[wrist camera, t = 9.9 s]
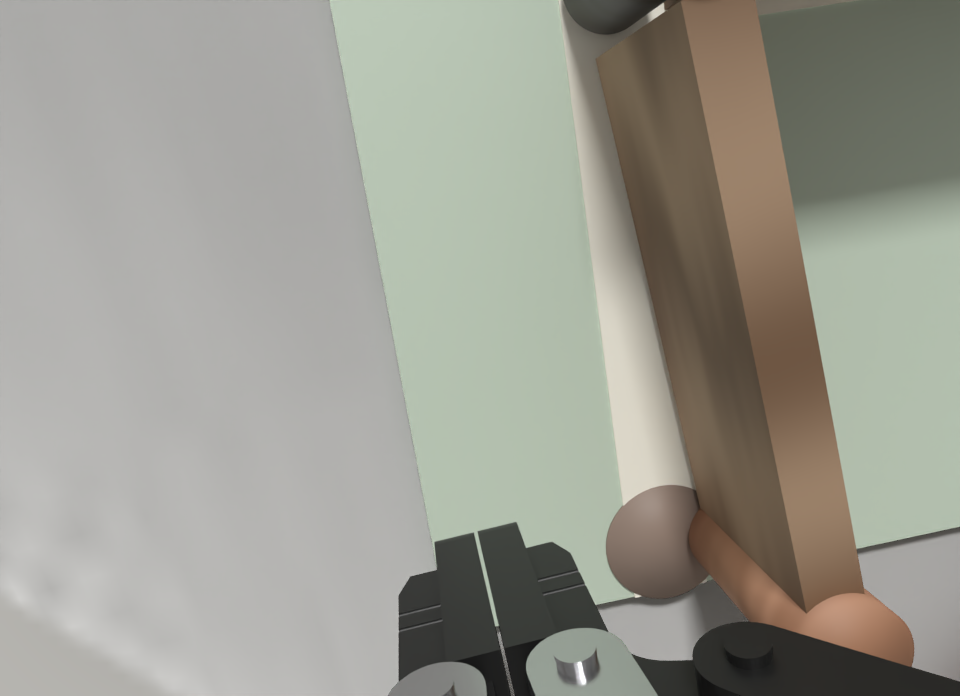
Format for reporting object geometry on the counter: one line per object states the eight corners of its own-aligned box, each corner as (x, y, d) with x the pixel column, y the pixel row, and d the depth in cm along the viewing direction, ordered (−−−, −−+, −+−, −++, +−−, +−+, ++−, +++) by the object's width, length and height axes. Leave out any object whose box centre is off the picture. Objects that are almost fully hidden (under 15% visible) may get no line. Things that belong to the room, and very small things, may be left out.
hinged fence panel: (546, -49, 16) (625, -174, 11) (643, -75, 16) (768, -211, 11) (698, 582, 20) (815, 727, 14) (777, 556, 20) (922, 690, 14)
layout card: (1273, -383, 17) (1298, -399, 17) (1223, 468, 22) (1241, 473, 21) (278, -274, 15) (274, -289, 15) (449, 634, 20) (451, 644, 19)
